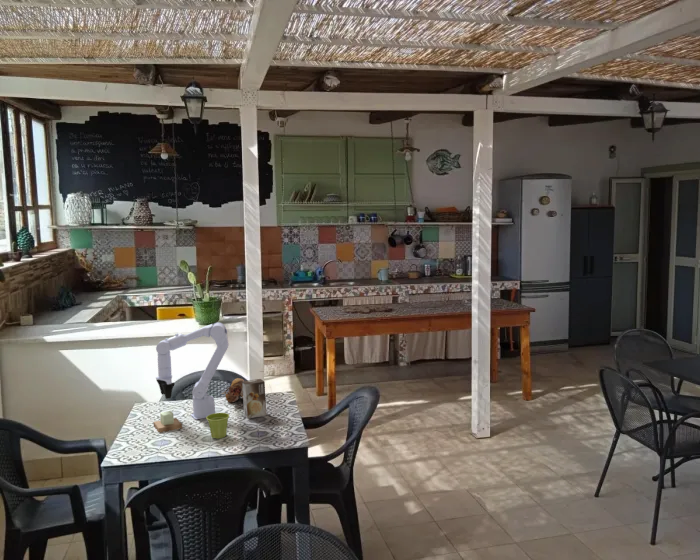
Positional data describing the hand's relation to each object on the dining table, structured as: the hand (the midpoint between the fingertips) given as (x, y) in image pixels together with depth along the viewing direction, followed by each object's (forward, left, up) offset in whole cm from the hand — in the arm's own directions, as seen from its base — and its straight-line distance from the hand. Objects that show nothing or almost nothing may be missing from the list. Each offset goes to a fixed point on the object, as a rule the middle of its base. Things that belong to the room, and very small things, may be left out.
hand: (166, 396), depth 279 cm
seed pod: (-36, -8, -11) cm, 39 cm away
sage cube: (+3, +12, -9) cm, 15 cm away
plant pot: (-12, +36, -11) cm, 40 cm away
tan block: (+3, +12, -11) cm, 17 cm away
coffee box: (-35, +19, -11) cm, 41 cm away
